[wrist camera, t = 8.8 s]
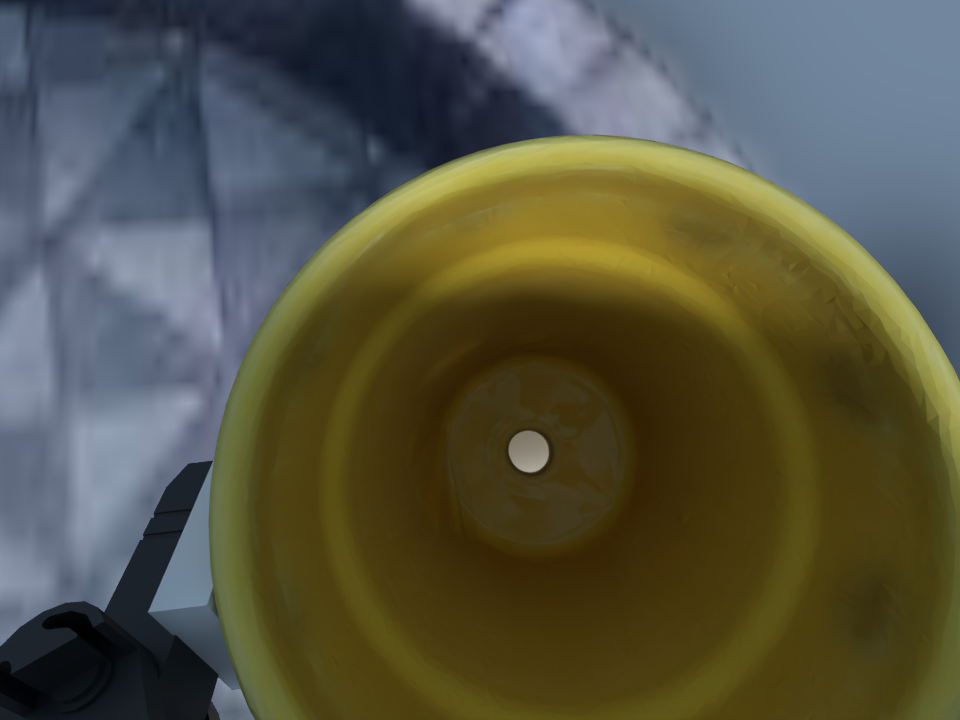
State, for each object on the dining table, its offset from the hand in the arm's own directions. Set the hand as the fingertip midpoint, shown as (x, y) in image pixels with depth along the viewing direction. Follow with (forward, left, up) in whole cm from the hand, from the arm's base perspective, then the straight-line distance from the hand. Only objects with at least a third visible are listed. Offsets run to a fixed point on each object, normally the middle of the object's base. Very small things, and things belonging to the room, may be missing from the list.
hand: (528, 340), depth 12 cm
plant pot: (+2, -2, -4) cm, 5 cm away
